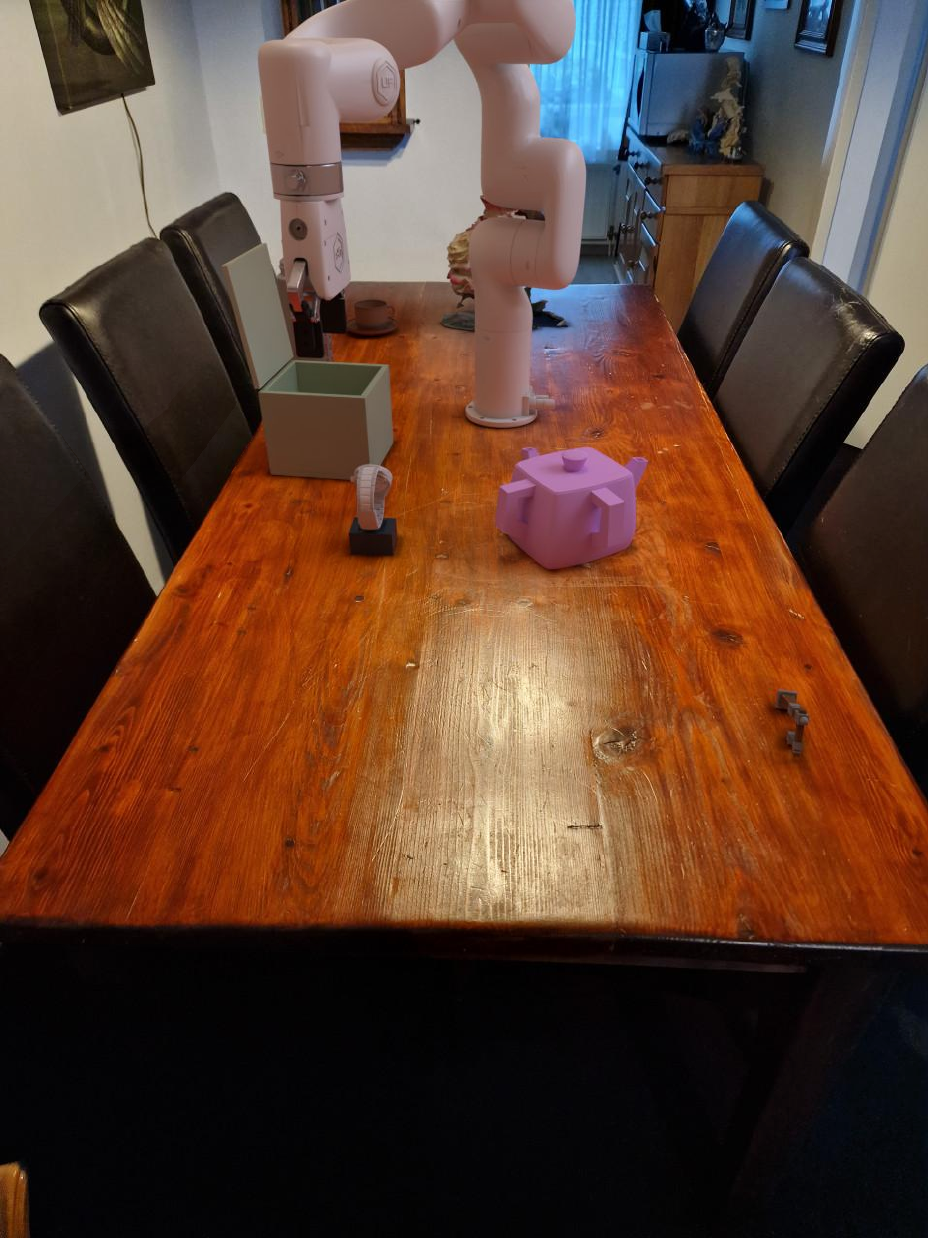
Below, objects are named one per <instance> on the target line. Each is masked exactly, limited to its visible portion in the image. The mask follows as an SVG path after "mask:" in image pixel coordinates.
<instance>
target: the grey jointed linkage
mask: <svg viewBox="0 0 928 1238" xmlns="http://www.w3.org/2000/svg"><path fill="white" fill-rule="evenodd" d="M797 698H798V691H793V690H787V689H786V690H785V689H777V694H776V701H775V706H774V707H775V708H776V709H785V710H787V714H788V715H789V717H790V718H793V721H794V722H795V731H793V730H787V731H786V734H785V735H786V736H785V741H787V742H786V743H787V745H788V746H789V745H790V746H791V748H792V749H791V750H792V751H791V756H792V757H793V758H801V753H802V750H803V745H804V742H803V738H804V731H805V726H809V722H810V714H808V713H807V711H808V710H807V709H806V708H805V707H802V706H801V705H800V703H797Z"/></svg>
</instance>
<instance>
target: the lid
mask: <svg viewBox="0 0 928 1238" xmlns="http://www.w3.org/2000/svg"><path fill="white" fill-rule="evenodd" d="M221 270H222V274H223V277H224V281H225V285H226V288H227V292H228V296H229V299H230V303H231V307H232V310H233V314H234V317H235V322H236V326H237V328H238V333H239V336H240V341H241V343H242V348H243V351H244V354H245V358H246V362H247V365H248V369H249V373H250V376H251V377H250V378H251V380H252V384H253V388H254V390H261V389H262V388H263V387H264V386H265V385H266V384H267V383H268V382H269V381H270V380H271V379H273V378H274V377H275V376H276V375H277V374H278V373H279V372H280V371H281V370H282V369H283V368H284V367H285V366H286V365H287V364H288V361H289V360H290V359H291V358H292V357H293V352H292V348H291V344H290V340H289V335H288V331H287V327H286V323H285V319H284V314H283V310H282V306H281V302H280V298H279V290H278V284H277V281H276V277H275V273H274V268H273V265H272V261H271V257H270V253H269V249H268V244H267V242H264V243H260V244H258V245H256V246H254V247H253V248H251V249H249V250H247V251H246V252H244V253H242V254H240V255H238V256H237V257H235V258H233V259H231V260H230V261H227V262H226V263H224V264H223V265H221Z"/></svg>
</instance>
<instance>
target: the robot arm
mask: <svg viewBox="0 0 928 1238" xmlns="http://www.w3.org/2000/svg"><path fill="white" fill-rule="evenodd" d="M576 23H577V19H576V10H575V5H574V2H573V0H344V1H341V2H338V3H336V4H335V5H332V6H330V7H328V8H325V9H323V10H321V11H319V12H317V13H315V14H314V15H312V16H310V17H309V18H307V19H306V20H304V21H303V22H302V23H301V24H299V25H298V26H296V28H294V29H293V30H291V31H290V32H289V33H288V34H287V35H286V36H285V37H284V38H283V39H272V40H266V41H265V42H263V43H262V44H261V45H260V46H259V49H258V50H257V51H258V52H257V67H258V75H259V85H260V93H261V103H262V110H263V118H264V126H265V136H266V145H267V151H268V160H269V161H268V162H269V169H270V171H269V172H270V178H271V189H272V196H273V199H275V200H277V201H279V207H280V209H279V210H280V211H279V212H280V231H281V233H280V234H281V247H282V258H283V260H284V270H285V278H286V284H287V294H288V297H289V300H290V303H289V306H290V310H291V320H292V322H293V330H294V338H295V347H296V355H297V356H298V357H304V358H323V357H324V355H325V350H324V339H323V333H331V335H332V334H334V335H335V334H337V335H346V334H347V332H348V329H347V321H348V319H347V318H348V317H347V307H346V298H345V297H346V290H345V288H346V287H347V286H348V285H349V284H350V283H351V278H352V277H351V276H352V275H351V265H350V257H349V256H350V255H349V246H348V238H347V231H346V222H345V216H344V210H343V204H342V198H344V197H345V187H344V185H345V184H344V173H343V162H342V161H343V159H342V146H341V134H340V133H341V132H340V123H356V124H359V123H360V124H366V123H367V124H368V123H374V122H377V121H380V120H382V119H383V118H385V117H387V115H389V114H390V112H391V111H393V109H394V107H395V106H396V103H397V102H398V99H399V94H400V91H401V90H400V89H401V77H400V71H403V70H407V69H411V68H414V67H417V66H420V65H424V64H427V63H428V62H429V61H431V60H433V58H435V57H437V55H438V54H439V53H440V52H441V51H443V50H444V49H445V47H447V46H448V45H449V44H450V43H451V42H452V41H453V42H454V44H455V46H456V48H457V50H458V52H459V53H460V54H461V56H462V58H463V59H464V61H465V62H466V64H467V65H468V68H470V70H471V73H472V75H473V77H474V79H475V82H476V84H477V88H478V91H479V96H480V101H481V132H480V133H481V134H480V135H481V140H480V141H481V142H480V188H481V194H482V195H483V196H484V198H485V199H486V201H488V202H489V203H490V204H493V205H495V206H500V207H506V208H514V209H525V210H536V211H541V212H542V213H543V215H544V216H545V221H538V220H529V219H521V218H511V217H493V218H489V219H485V220H483V221H482V222H480V223H479V224H478V225H477V226H476V227H475V228H474V230H473V232H472V234H471V236H470V240H469V260H470V266H471V272H472V278H473V285H474V297H475V299H474V311H475V331H474V400H471V402H470V403H468V404H467V405H466V406H465V417H466V418H467V419H468V420H469V422H472V423H474V424H477V425H479V426H482V427H489V428H498V429H503V428H504V429H507V428H517V427H521V426H525V425H528V424H529V423H531V422H533V421H534V420H536V418H537V416H538V410H544V411H555V400H556V399H555V398H549V397H550V396H549V394H536V392H533V385H531V384H530V383H531V382H530V381H531V363H532V362H531V361H532V360H531V359H532V338H533V337H532V335H533V330H532V325H533V319H534V318H533V314H532V307H531V304H530V301H529V298H528V296H527V294H526V292H525V290H524V288H525V287H531V289H538V290H546V291H547V290H548V291H560V290H563V289H567V287H569V286H570V284H572V282H574V281H573V280H575V277H576V274H577V271H578V267H579V263H580V255H581V246H582V245H581V244H582V234H583V222H584V211H585V200H586V190H587V189H586V188H587V186H586V185H587V167H586V160H585V156H584V153H583V150H582V149H581V148H580V146H579V145H578V144H577V143H576V142H574V141H572V140H570V139H566V138H559V137H542V136H541V130H540V129H541V103H542V101H541V93H540V89H539V86H538V83H537V81H536V78H535V75H534V74H533V72H532V70H531V69H530V67H529V65H540V66H541V65H543V66H547V65H552V64H555V63H558V62H559V61H561V60H563V59H564V57H565V56H566V55H567V54H568V53H569V51H570V49H571V47H572V45H573V42H574V39H575V34H576V28H577V25H576ZM307 291H308V292H307ZM321 297H322V298H321ZM308 302H312V307H311V308H310V306H309V304H308ZM319 313H320V321H318V318H319Z"/></svg>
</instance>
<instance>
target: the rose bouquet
mask: <svg viewBox="0 0 928 1238" xmlns="http://www.w3.org/2000/svg"><path fill="white" fill-rule="evenodd" d="M479 199H480V201H481V203H482V204H483V206H484V210H483V213H482V215H479V216H478V217H477V219H476V220H475V222H474V223H472V224H471V227H468V228H466V229H465V230H464V231H462V232H459V233H456V234H455V236H454V237H453V240H452V241H450V243H449V245H448V246H447V247H446V250H447V256H446V260H448V263H449V264H448V265H447V267H448V268H449V271H448V272H447V274H446V279H447V280H449V282H450V283H451V289H452V291H453V292H454V294H455V295H457V296H460V297H461V300H460V301H459V302H458V303H457V305H456V307H455V308H456V309H461V308H463V307H465V304H463V301H465V300H466V299H472V300H475V297H474V285H473V278H472V272H471V266H470V260H469V240H470V236H471V234H472V232H473V230H474V228H475V227H476V226H477V225H478V224H479V223H480V222H482V221H483V220H485V219H489V218H493V217H511V218H521V219H529V220H538V221H545V215H544V213H543V211H536V210H525V209H514V208H506V207H500V206H495V205H493V204H490V203H489V202H488V201H486V199H485V198H484V196H483V194H481V195H480V196H479ZM523 288H524V290H525V292H526V294H527V296H528V298H529V301H530V304H531V307H532V314H533V319H535V318H542V317H543V318H548V319H549V320H550V321H553V322H559V323H558V324H556V326H569V324H568V322H566V320H565V318H564V317H563V316H559V315H556V314H555V313H554V312H552V311H551V310H548V311H546V310H545V309H546V307H547V305H546V304H547V303H549V300H546V299H541V300H539V301H536V302H532V300H531V299H532V298H531V297H532V292H531V291H532V288H531V287H523ZM440 319H441V322H440V324H441V325H443V326H445V327H449V328H452V329H459V330H465V331H466V330H467V331H473V332H475V310H469V311H468V310H467V311H462V312H461V311H453V312H444V313H443V314H442V316H441V318H440ZM537 329H538V325H533V324H532V331H534V330H537Z"/></svg>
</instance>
